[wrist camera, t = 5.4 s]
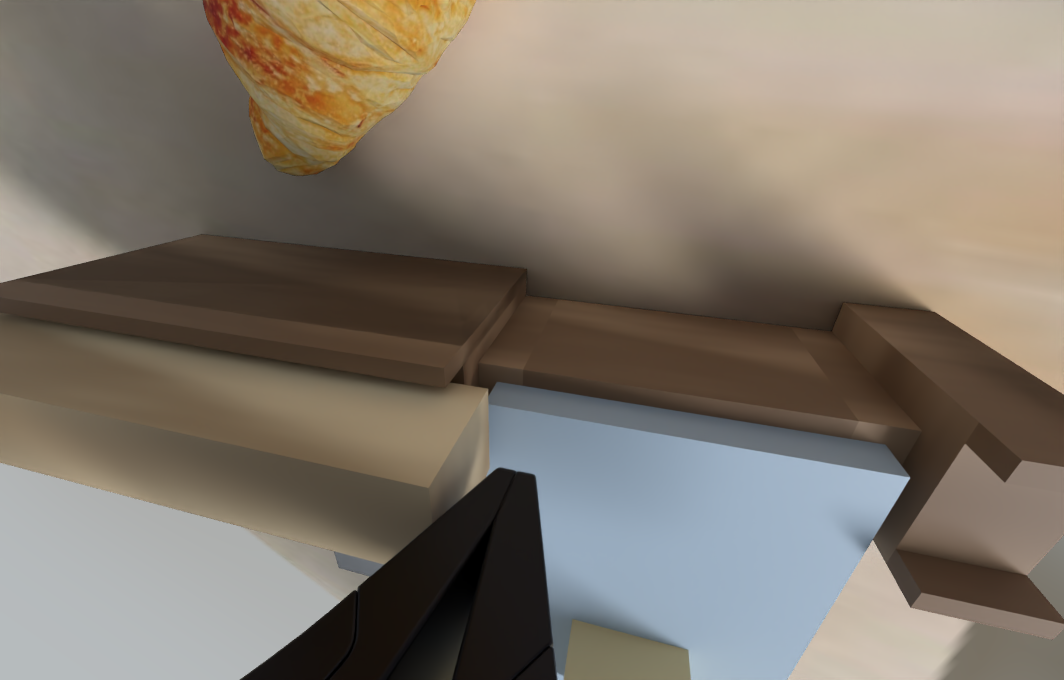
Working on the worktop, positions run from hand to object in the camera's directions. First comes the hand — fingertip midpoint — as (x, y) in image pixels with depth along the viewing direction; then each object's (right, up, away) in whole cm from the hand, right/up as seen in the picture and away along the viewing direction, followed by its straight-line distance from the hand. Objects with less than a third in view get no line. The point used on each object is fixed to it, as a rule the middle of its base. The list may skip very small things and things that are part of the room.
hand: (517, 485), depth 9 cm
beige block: (-8, +2, +3) cm, 9 cm away
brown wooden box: (-1, -2, +10) cm, 10 cm away
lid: (+4, -5, +5) cm, 8 cm away
